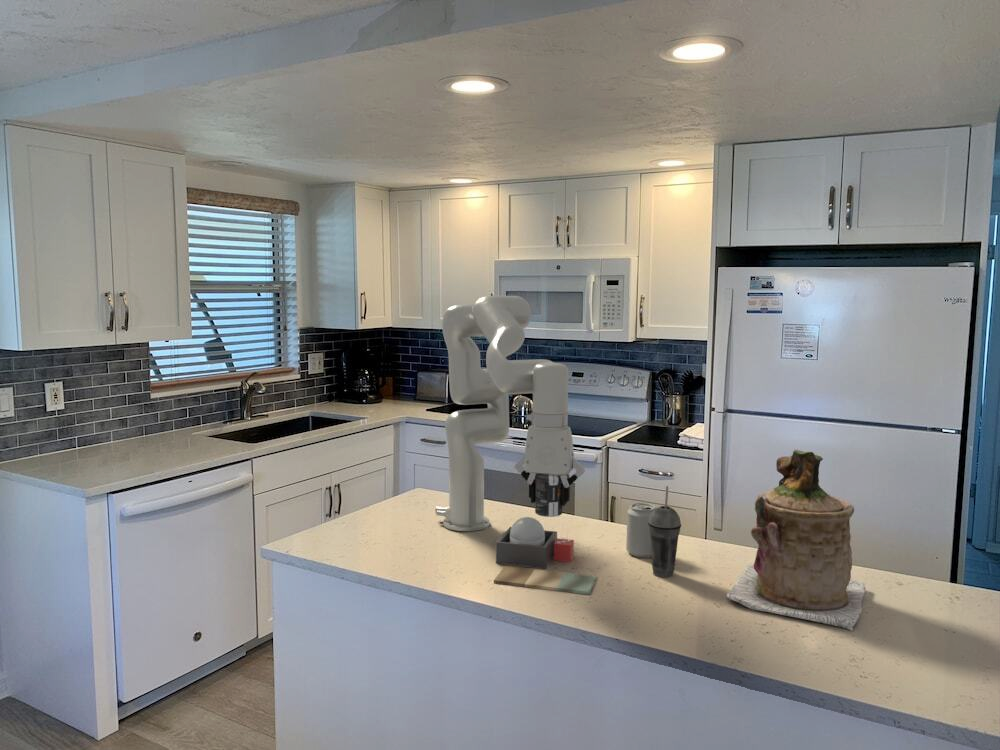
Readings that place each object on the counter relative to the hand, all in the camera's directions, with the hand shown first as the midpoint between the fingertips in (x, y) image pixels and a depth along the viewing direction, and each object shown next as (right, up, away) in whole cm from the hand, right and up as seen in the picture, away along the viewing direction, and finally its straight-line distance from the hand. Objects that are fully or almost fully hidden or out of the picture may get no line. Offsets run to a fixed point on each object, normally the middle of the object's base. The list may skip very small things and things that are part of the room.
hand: (549, 501), depth 159 cm
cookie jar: (+52, -19, -6) cm, 55 cm away
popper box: (-2, -16, +16) cm, 23 cm away
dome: (-4, -15, +17) cm, 23 cm away
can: (+24, -16, +20) cm, 35 cm away
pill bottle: (0, -3, 0) cm, 3 cm away
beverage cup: (+26, -18, +7) cm, 32 cm away
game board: (-1, -18, +2) cm, 18 cm away
